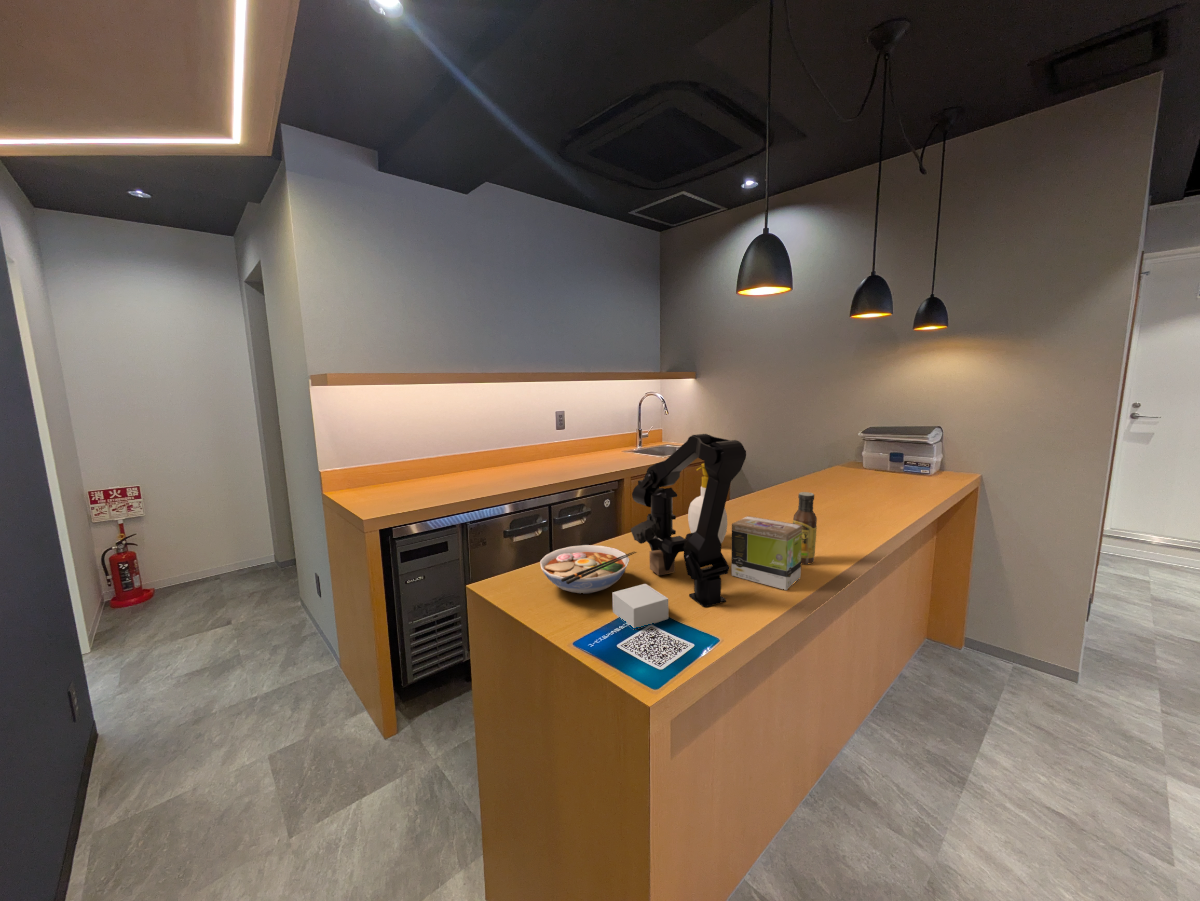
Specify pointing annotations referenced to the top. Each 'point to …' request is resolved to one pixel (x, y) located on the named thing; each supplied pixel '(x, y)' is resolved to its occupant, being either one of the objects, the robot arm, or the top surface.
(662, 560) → the walnut cube
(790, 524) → the tea box
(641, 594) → the light grey block
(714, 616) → the top surface
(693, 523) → the soap bottle
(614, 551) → the ramen bowl
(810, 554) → the sauce bottle
